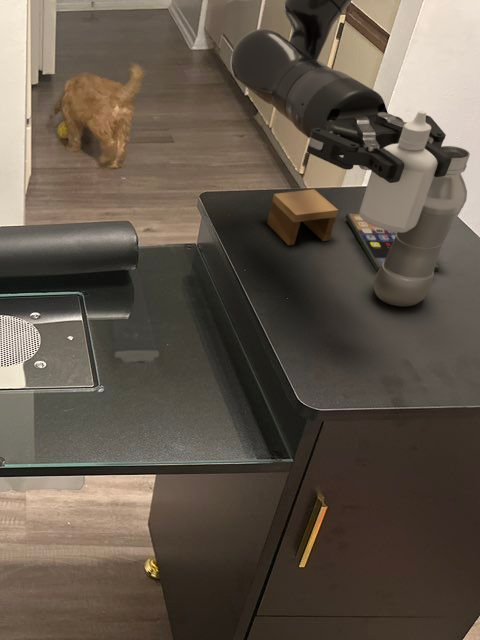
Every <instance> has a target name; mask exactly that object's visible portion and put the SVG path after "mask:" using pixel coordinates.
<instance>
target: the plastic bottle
mask: <svg viewBox="0 0 480 640" xmlns="http://www.w3.org/2000/svg"><path fill="white" fill-rule="evenodd" d="M440 149H441V150H442V151H444V152H446V153H447V154H449V155H450V156H451V157H452V159H451V163H450V165H449V168H448V171H447V173H446V175H445V176H443V177H435V176H434V177H433V180H432V183H431V186H430V189H429V191H428V194H427V197H426V200H425V203H424V205H423V208H422V211H421V214H420V216H419V219H418V222H417V224H416V226H415V227H413V228H412V229H410V230H409V231H407V232H404V233H400V232H397V233H396V236H395V239H394V242H393V244H392V246H391V248H390V250H389V252H388V254H387V257H386V259H385V261H384V262H383V263H382V265H381V267H380V268H379V270H378V271H376V274H375V277H374V281H373V290H374V292H375V293H374V294H375V295H376V297H377V298H378V299H379V300H380V301H382V302H383V303H385V304H388V305H391V306H395V307H412V306H415V305H417V304H419V303H420V302H422V301H423V300H424V299H426V296H427V295H428V293H429V292H430V290H431V288H432V284H433V279H434V275H435V271H434V268H435V265H436V263H437V262H438V258H439V255H440V252H441V249H442V248H443V245H444V242H445V240H446V238H447V236H448V234H449V233H450V231H451V228H452V226H453V225H454V223H455V221H456V220H457V218H458V217H459V215H460V213H461V212H462V210H463V208H464V206H465V204H466V202H467V198H468V189H467V186H466V183H465V180H464V178H463V175H462V173H465V171H466V168H467V164H468V161H469V159H470V155H471V153H470V151H468V149H465V148H462V147H459V146H453V145H442V146H441V148H440Z"/></svg>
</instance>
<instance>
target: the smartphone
mask: <svg viewBox="0 0 480 640" xmlns="http://www.w3.org/2000/svg"><path fill="white" fill-rule="evenodd" d="M345 220H346V221H347V223H348V224H349V226H350V228H351V229H352V231H353V233H354V234H355V236H356V238H357V240H358V242H359V243H360V245H361V246H362V248H363V250H364V252H365V253H366V255H367V257H368V259H369V260H370V261H371V264H372V265H373V267H374V269H375V271H376V272H378V270H379V268H380V267H381V265H382V263H383V262H384V261H385V259H386V257H387V254H388V252H389V250H390V248H391V246H392V244H393V242H394V239H395V236H396V233H397V232H394V231H389V230H385V229H382V228H379V227H376V226H374V225H372V224H370V223H368V222H366V221H365V220H363V219H362V218H361V217H360V215H359V212H357V213H346V214H345ZM439 270H440V266H439V264H438V263H437V262H436V265H435V268H434V272H439Z"/></svg>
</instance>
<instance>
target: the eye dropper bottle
mask: <svg viewBox="0 0 480 640" xmlns="http://www.w3.org/2000/svg"><path fill="white" fill-rule="evenodd" d="M426 115H427V111H425V110H418V111H417V113H416V115H415V117H414V119H413V120H412V121H407V122H408V123H406V124H404V126H403V130H402V133H401V136H400V139H399V142H398V144H391V145H388V146H386V147H384V149H386V150H387V151H389V152H390V153H392V154H393V155H395V156H396V157H398V158H399V159H401V160H402V161H403V162H404V169H403V172H402V175H401V178H400V180H399V182H395V183H389V182H388V181H386V180H385V179H383V178H381V177H379V176H378V175H377V174H375V173H374V172H373V171H371V170H370V171H371V172H370V174H369V178H368V181H367V185H366V188H365V190H364V195H363V197H362V201H361V205H360V208H359V212H358V213H359V215H360V217H361V218H362V219H363V220H365V221H366V222H368V223H370V224H372V225H374V226H376V227H379V228H382V229H385V230H389V231H394V232H400V233H404V232H407V231H409V230H410V229H412V228H413V227H415V226H416V224H417V222H418V219H419V216H420V214H421V211H422V208H423V205H424V203H425V200H426V197H427V194H428V191H429V189H430V186H431V183H432V180H433V177H434V174H435V171H436V168H437V164H438V162H437V160H436V158H435V157H434V156H433V155H432V154H431V153H430V152H429V151H427V150H426V149H425V146H426V143H427V140H428V137H429V134H430V131H431V126H430V125H429V124H427V123H426V122H425V121H426Z"/></svg>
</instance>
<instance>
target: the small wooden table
mask: <svg viewBox="0 0 480 640" xmlns="http://www.w3.org/2000/svg"><path fill="white" fill-rule="evenodd" d="M338 213H339V209H338V208H337V207H335V206H334V205H333V204H332V203H331V202H330V201H328V199H326V198H325V197H324V196H323V195H322V194H321V193H319V192H318V191H317V190H315V189H314V188H313V189H312V188H311V189H304V190H296V191H287V192H280V193H273V197H272V201H271V205H270V209H269V214H268V218H267V223H266V224H267V225H268V226H269V228H271V229H272V230H273V231H274V232H275V234H277V235H278V237H279V238H280V239H281V240H282V241H283V242H284V243H285V244H286V245H287V246H294V245H296V240H297V236H298V233H299V229H300V225H301V222H302V223H303V224H304V225H305V226H306V228H308V229H309V230H310V231H312V232H313V233H314V235H315V236H317V237H318V238H319V239H320V240H321V241H322V242H327V241H330V239H331V235H332V232H333V229H334V227H335V222H336V220H337V216H338Z"/></svg>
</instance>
